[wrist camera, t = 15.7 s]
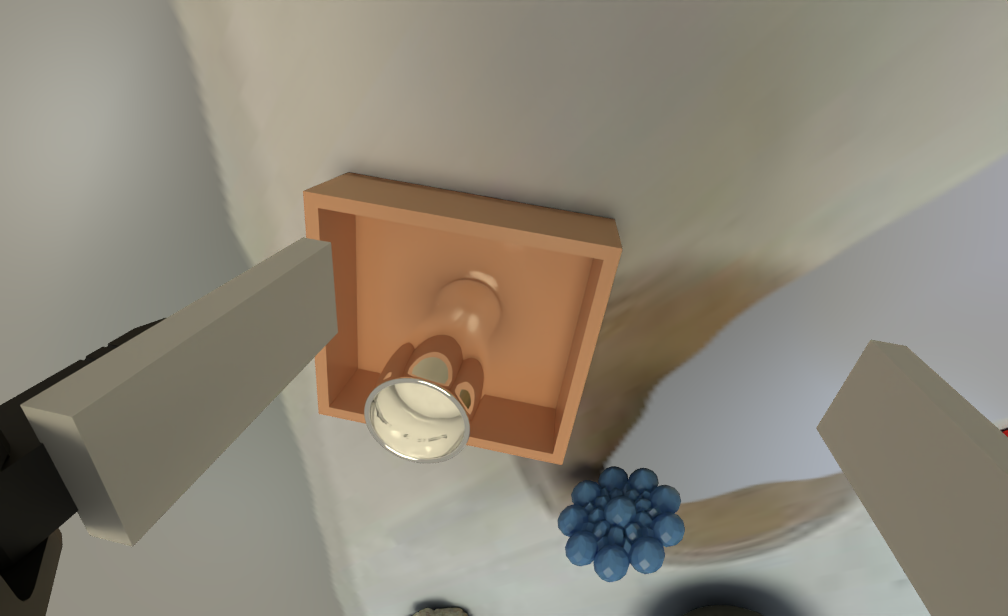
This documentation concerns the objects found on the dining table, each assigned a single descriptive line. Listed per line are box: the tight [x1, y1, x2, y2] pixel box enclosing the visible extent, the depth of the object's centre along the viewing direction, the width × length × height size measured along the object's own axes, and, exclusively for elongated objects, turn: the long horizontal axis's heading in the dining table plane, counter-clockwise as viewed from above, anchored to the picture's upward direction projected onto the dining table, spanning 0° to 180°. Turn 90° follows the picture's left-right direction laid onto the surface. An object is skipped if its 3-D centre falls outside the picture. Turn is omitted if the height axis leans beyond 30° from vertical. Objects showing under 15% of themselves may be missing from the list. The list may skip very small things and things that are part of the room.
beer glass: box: [364, 279, 502, 463], centre depth 34 cm, size 7×7×15 cm
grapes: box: [558, 466, 685, 582], centre depth 43 cm, size 12×7×12 cm, turn 100°
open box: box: [303, 172, 622, 465], centre depth 38 cm, size 22×20×7 cm
